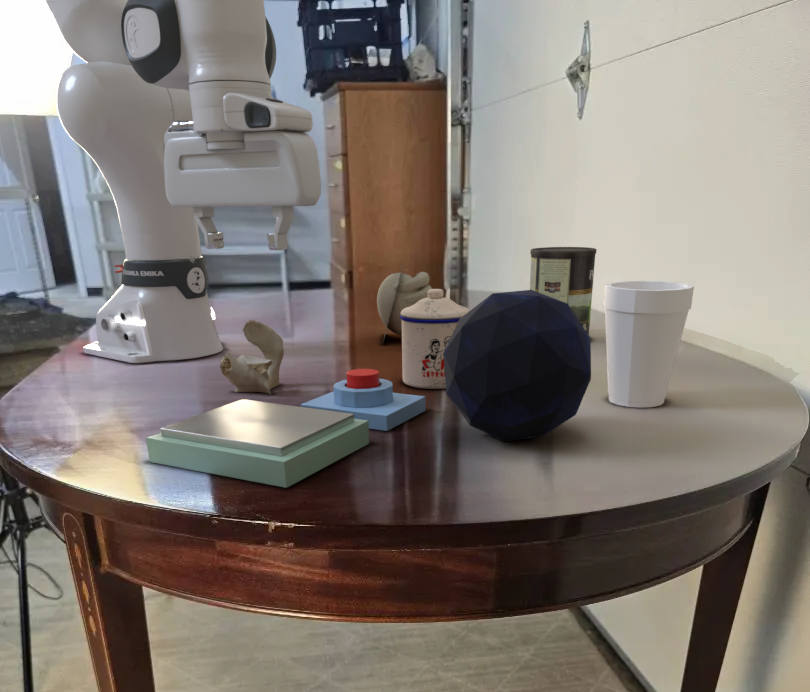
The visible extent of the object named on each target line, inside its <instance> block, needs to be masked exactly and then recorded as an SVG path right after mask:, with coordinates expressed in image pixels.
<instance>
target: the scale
mask: <svg viewBox="0 0 810 692" xmlns="http://www.w3.org/2000/svg"><path fill="white" fill-rule="evenodd" d="M145 441H146V447H147V454H148V459H149V462H150V463H153V464H158V465H164V466H170V467H174V468H180V469H184V470H189V471H196V472H199V473H200V472H201V473H206V474H211V475H216V476H221V477H228V478H232V479H237V480H242V481H243V480H244V481H248V482H253V483H259V484H264V485H268V486H275V487H280V488H284V489H288V488H289V487H291V486H293V485H295V484H297V483H298V482H301V481H302V480H304V479H306V478H307V477H310V476H311V475H313V474H315V473H317V472H318V471H321V470H323V469H325V468H326V467H328V466H330V465H332V464H334V463H335V462H338V461H339V460H341V459H343V458H345V457H347V456H349V455H351V454H353V453H354V452H357V451H358V450H360V449H362V448H364V447H366V446H368V445H369V444H370V429H369V422H368V420H361V419H354V414H351V413H343V412H335V411H328V410H320V409H313V408H305V407H301V406H296V405H288V404H282V403H274V402H268V401H260V400H259V401H258V400H251V399H243V398H241V399H239V400H236V401H233V402H230V403H227V404H224V405H221V406H219V407H216V408H213V409H210V410H208V411H205V412H202V413H199V414H196V415H193V416H190V417H188V418H184V419H183V420H182V419H181V420H179V421H177V422H173V423H171V424H168V425H166V426H163V427H160V432H158V433H155V434H152V435H150V436H148V437H145Z"/></svg>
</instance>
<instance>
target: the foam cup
mask: <svg viewBox="0 0 810 692" xmlns="http://www.w3.org/2000/svg"><path fill="white" fill-rule="evenodd" d="M694 289H695V286H694V285H692V284H690V283H684V282H679V281H678V282H677V281H663V280H624V281H623V280H622V281H614V282H609V283H606V284H604V290H603V291H604V292H603V303H602V306H603V308H604V317H605V318H604V319H605V347H606V370H607V371H606V375H607V394H608V401H609V403H612V404H614V405H617V406H622V407H627V408H638V409H639V408H641V409H642V408H653V407H658V406H662V405H663V404H665V399H666V398H667V394H668V390H669V386H670V382H671V379H672V374H673V371H674V367H675V363H676V360H677V356H678V351H679V349H680V345H681V341H682V337H683V333H684V329H685V326H686V322H687V318H688V315H689V314H688V313H689V310H691V309H692V305H693V296H694Z"/></svg>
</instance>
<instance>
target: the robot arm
mask: <svg viewBox="0 0 810 692" xmlns="http://www.w3.org/2000/svg"><path fill="white" fill-rule="evenodd" d="M43 1H44V2H45V5H46V7H47V8H48V11H49V13H50V14H51V15H50V16H52V18H53V21H54V22H55V25H56V27H57V28H58V31H59V32H60V34H61V36H62V39H63V40H64V42H65V43H66V45H67V47H68V48H69V49H70V50H71V51H72V53H74V54H75V55H76V56H77V57H79V58H80V59H81V60H83V61H84V62H85V63H80V64H73V65H72V66H69V67H67V69H65V70H64V71H63V73H62V74H61V76H60V78H59V81H58V83H57V87H56V92H55V105H56V112H57V115H58V117H59V120H60V123H61V125H62V127H63V129H64V130H65V133H67V135H68V136H69V137H70V139H71V140H72V141H73V142H75V143H76V144H77V145H78V146H79V147H81V149H83V150H84V151H85V153H87V155H88V156H89V157H90V158H91V159H92V161H93V162H94V163H95V165H96V166H97V168H98V170H99V171H100V173H101V175H102V177H103V178H104V180H105V182H106V185H107V186H108V189H109V190H110V194H111V195H112V199H113V201H114V204H115V207H116V212H117V216H118V217H117V218H118V220H119V226H120V231H121V237H122V242H123V248H124V254H125V255H124V256H125V259H124V260H123V263H122V264H114V265H113V268H120V269H117V270H114V273H115V274H121V277H120V284H121V286H120V287H119V288H118V289H117V290H116V291H115V293H114V294H113V295H112V296H111V298H109V300H107V302H106V303H105V304H104V305H103V306H102V307H101V308H100V309H99V310H98V312H97V313H96V317H95V329H96V337H97V341H94V342H92V343H89V344H87V345H85V346H83V353H84V354H87V355H91V356H95V357H96V356H97V357H102V358H105V359H109V360H110V359H111V360H116V361H120V362H124V363H129V364H142V363H151V362H153V363H154V362H165V361H179V360H189V359H191V360H192V359H196V358H197V359H198V358H202V357H207V356H211V355H216V354H218V353H220V352H222V351H223V350H224V346H223V345H222V341H221V339H220V336H219V333H218V330H217V327H216V324H215V320H216V313H215V311H214V309H213V307H212V305H211V302H210V298H209V295H208V290H207V287H208V273H207V265H206V259H205V257H204V256H203V255H202V248H201V238H200V231H201V233H202V234H203V237H204V245H205V248H206V249H208V250H219V249H224V247H225V242H224V233H223V232H219V230H218V229H217V228H216V225H215V223H214V220H213V218H215V208H244V207H245V208H249V207H250V208H251V207H252V208H253V207H257V208H258V207H272V217H273V218H276V222H275V224H274V227H273V232H272V233H267V234H266V236H267V241H268V244H267V246H268V249H269V250H270V251H286V250H288V247H289V246H288V245H289V244H288V233H289V230H290V228H291V226H292V223H293V220H294V218H295V214H294V213H295V211H294V210H295V209H294V207H313V206H316V205H317V203H318V202H319V199H320V198H321V194H322V184H321V183H322V180H321V179H322V178H321V169H320V160H319V153H318V149H317V145H316V143H315V141H314V139H313V137H312V136H311V135H309V134H308V133H310V132H311V131H312V129H313V125H314V124H313V115H312V113H311V111H310V110H308V109H306V108H302V107H300V106H297V105H294V104H291V103H288V102H285V101H283V100H280V99H277V98H274V97H273V95H272V83H271V79H272V76H273V74H274V71H275V68H276V62H277V44H276V39H275V36H274V32H273V29H272V27H271V24H270V22H269V20H268V18H267V16H266V9H265V1H264V0H43ZM199 229H200V231H199Z"/></svg>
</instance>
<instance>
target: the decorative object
mask: <svg viewBox="0 0 810 692" xmlns="http://www.w3.org/2000/svg"><path fill="white" fill-rule="evenodd" d="M404 262H405V260H403V262H402V266H401V269H400V272H396V273H392V274H389V275H388V276H387V277H385V278H384V280H383V281H382V282H381V283H380V285H379V288H378V291H377V296H376V305H377V307H376V308H377V312H378V316H379V317H380V320H381V322H382V323H383V324H384V326H385V332H384V337H383V342H382V343H384V341H385V338H386V334H387V329H388V330H389V331H390V332H392V333H394V334H396V335H400V336H401V337H402V319H400V315H401V311H402V310H403V309H404V308H407V307H410V306H412V305H414V304H416V303H417V302H418V301H419V300H421V299H424V298H428V290H430V289H433V288H432V286H431V285H430V284H429V283H430V276H429V273H428V272H425V271H421V272H418V273H416V275H414V277H412V276H411V275H409V274H407V273H403V272H402V271H403V268H404Z"/></svg>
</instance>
